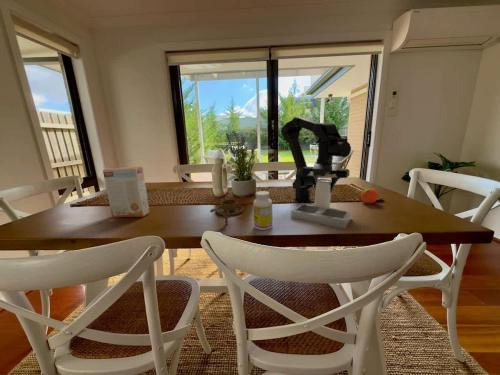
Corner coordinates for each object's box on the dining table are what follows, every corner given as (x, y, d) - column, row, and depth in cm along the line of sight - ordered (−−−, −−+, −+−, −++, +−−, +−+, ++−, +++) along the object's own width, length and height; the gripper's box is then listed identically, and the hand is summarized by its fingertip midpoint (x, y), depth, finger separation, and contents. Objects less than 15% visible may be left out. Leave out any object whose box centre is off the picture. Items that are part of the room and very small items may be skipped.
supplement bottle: (253, 223, 81) (252, 190, 78) (270, 222, 82) (270, 189, 79) (255, 231, 75) (253, 195, 72) (274, 230, 76) (273, 194, 72)
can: (330, 210, 92) (332, 182, 88) (314, 209, 93) (316, 182, 90) (328, 205, 98) (331, 179, 94) (313, 203, 99) (316, 178, 96)
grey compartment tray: (291, 217, 86) (291, 210, 85) (301, 209, 94) (301, 203, 93) (344, 229, 74) (345, 220, 74) (351, 218, 83) (351, 211, 82)
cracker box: (150, 212, 98) (143, 166, 92) (143, 217, 92) (135, 168, 87) (120, 212, 99) (111, 167, 93) (111, 217, 93) (101, 169, 88)
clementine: (369, 207, 94) (370, 191, 92) (355, 202, 100) (356, 188, 98) (380, 203, 98) (382, 188, 96) (366, 199, 104) (367, 185, 102)
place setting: (254, 210, 97) (253, 197, 95) (228, 228, 80) (227, 213, 78) (222, 205, 105) (221, 193, 104) (193, 220, 88) (191, 207, 87)
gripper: (296, 156, 89) (295, 193, 92) (344, 158, 78) (341, 199, 82) (306, 153, 97) (305, 187, 101) (351, 155, 87) (348, 192, 91)
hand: (323, 191), depth 93 cm, fingers closed on can, 6 cm apart
